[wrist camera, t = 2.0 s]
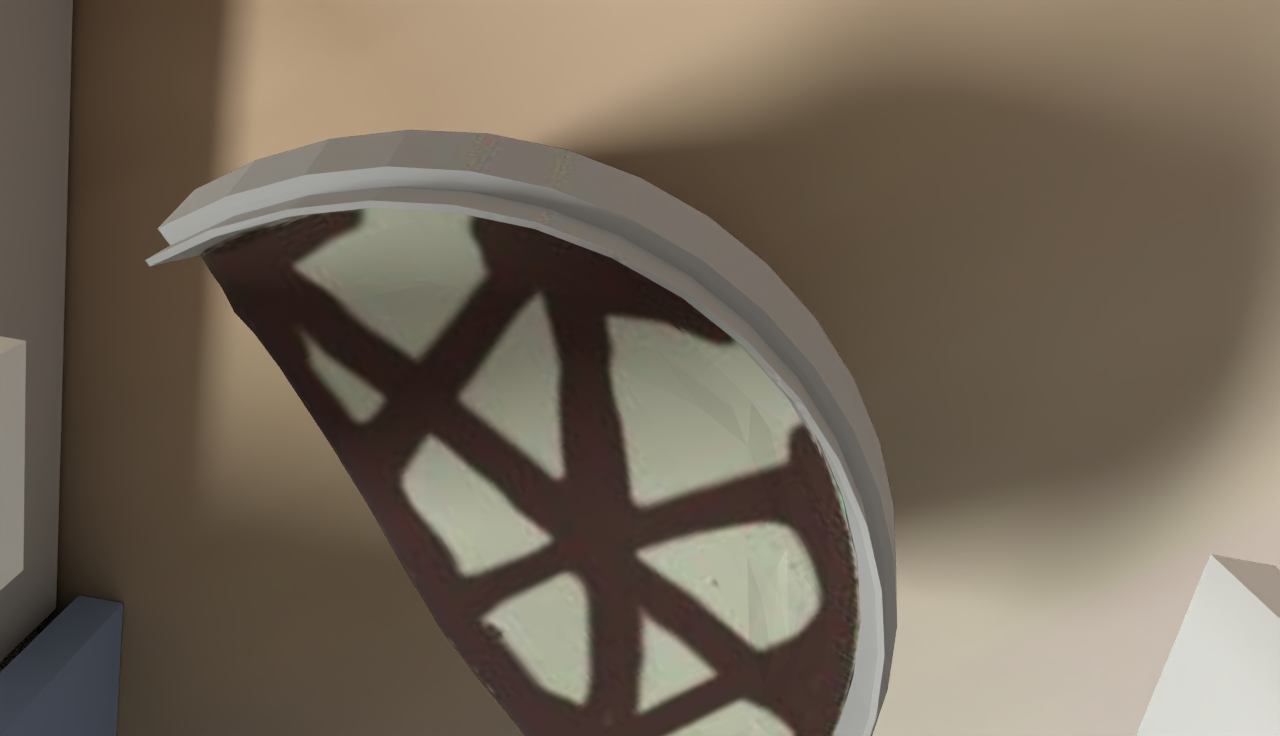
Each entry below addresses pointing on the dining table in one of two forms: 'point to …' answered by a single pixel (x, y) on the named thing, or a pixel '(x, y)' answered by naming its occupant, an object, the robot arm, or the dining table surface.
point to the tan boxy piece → (35, 277)
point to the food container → (575, 428)
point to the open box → (66, 675)
